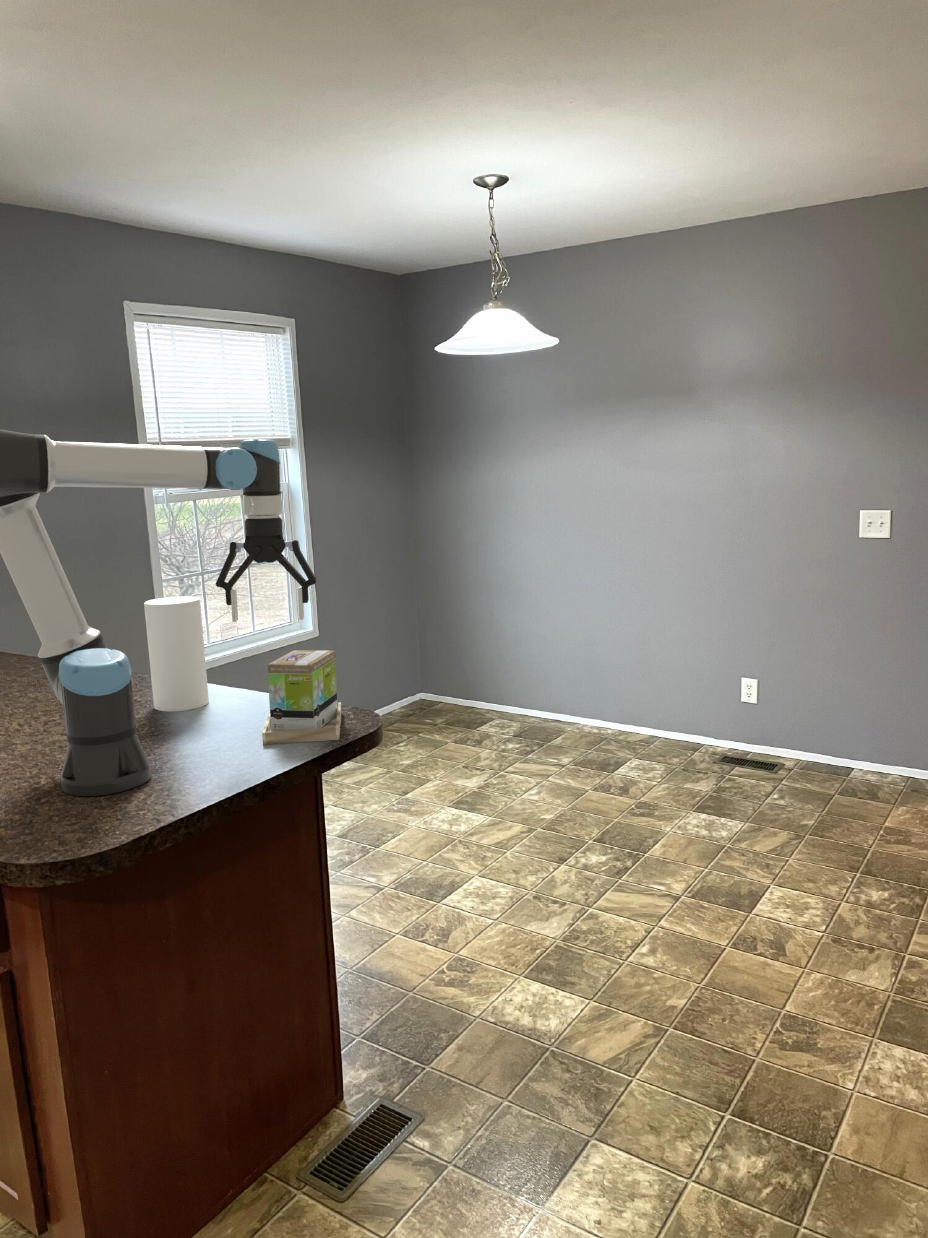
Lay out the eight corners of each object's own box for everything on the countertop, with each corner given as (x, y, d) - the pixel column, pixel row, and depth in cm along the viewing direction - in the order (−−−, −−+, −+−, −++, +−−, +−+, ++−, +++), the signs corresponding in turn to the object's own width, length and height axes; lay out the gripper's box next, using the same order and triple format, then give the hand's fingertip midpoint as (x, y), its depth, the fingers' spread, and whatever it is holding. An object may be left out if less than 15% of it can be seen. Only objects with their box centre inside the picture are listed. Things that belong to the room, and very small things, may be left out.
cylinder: (215, 696, 227) (206, 595, 223) (199, 710, 215) (190, 603, 210) (164, 698, 227) (154, 597, 223) (146, 712, 215) (135, 605, 211)
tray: (339, 739, 188) (338, 727, 187) (262, 744, 186) (262, 732, 186) (341, 713, 208) (341, 702, 207) (272, 717, 206) (271, 706, 206)
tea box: (316, 735, 189) (312, 664, 186) (270, 734, 190) (264, 663, 188) (339, 714, 203) (335, 648, 201) (295, 714, 205) (291, 648, 202)
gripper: (326, 514, 194) (330, 615, 198) (204, 517, 192) (210, 618, 196) (323, 516, 187) (328, 620, 190) (197, 519, 185) (203, 624, 188)
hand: (268, 620), depth 193 cm, fingers open, 13 cm apart
